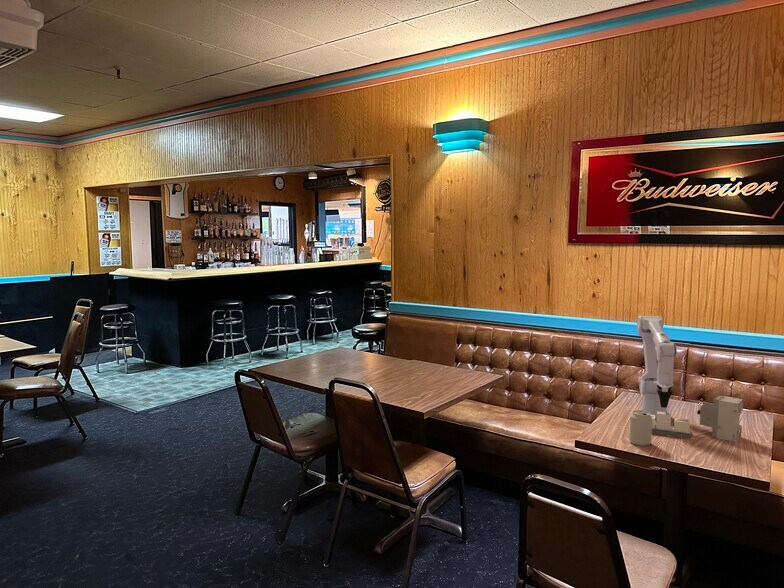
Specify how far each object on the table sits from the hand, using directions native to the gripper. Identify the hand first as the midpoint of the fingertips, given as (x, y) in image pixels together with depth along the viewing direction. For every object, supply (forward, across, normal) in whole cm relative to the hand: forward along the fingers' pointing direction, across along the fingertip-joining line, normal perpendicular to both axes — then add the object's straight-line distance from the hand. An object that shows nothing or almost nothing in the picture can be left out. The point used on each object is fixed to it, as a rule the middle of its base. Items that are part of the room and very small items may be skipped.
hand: (663, 404), depth 215 cm
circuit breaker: (+10, 0, +19) cm, 21 cm away
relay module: (+8, +6, 0) cm, 10 cm away
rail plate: (+9, +6, 0) cm, 11 cm away
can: (+10, +23, -8) cm, 26 cm away
